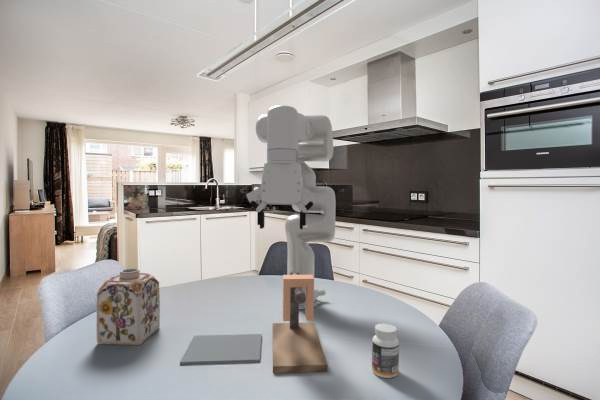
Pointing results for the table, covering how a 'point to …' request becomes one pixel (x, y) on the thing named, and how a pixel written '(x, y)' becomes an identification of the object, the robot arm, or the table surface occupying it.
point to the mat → (223, 349)
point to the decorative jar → (128, 308)
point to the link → (309, 303)
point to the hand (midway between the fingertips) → (281, 228)
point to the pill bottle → (385, 351)
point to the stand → (297, 341)
